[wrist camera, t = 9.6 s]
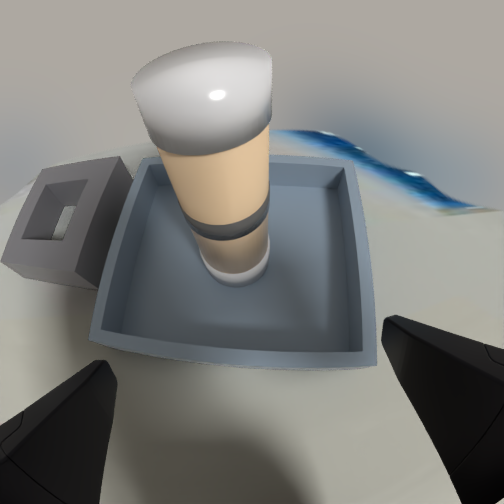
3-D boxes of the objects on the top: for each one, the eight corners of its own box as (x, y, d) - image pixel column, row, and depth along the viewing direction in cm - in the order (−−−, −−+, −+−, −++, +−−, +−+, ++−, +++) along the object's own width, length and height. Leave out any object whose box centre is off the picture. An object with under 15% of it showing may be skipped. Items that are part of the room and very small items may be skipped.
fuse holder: (134, 183, 22) (119, 156, 19) (100, 290, 18) (74, 271, 15) (58, 190, 23) (42, 169, 20) (24, 277, 19) (0, 261, 15)
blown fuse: (280, 246, 18) (295, 51, 7) (247, 299, 17) (213, 111, 5) (228, 220, 19) (192, 39, 8) (193, 267, 18) (105, 91, 6)
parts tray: (344, 186, 21) (352, 160, 18) (358, 368, 15) (376, 365, 12) (154, 182, 22) (142, 158, 20) (112, 348, 16) (88, 340, 13)
